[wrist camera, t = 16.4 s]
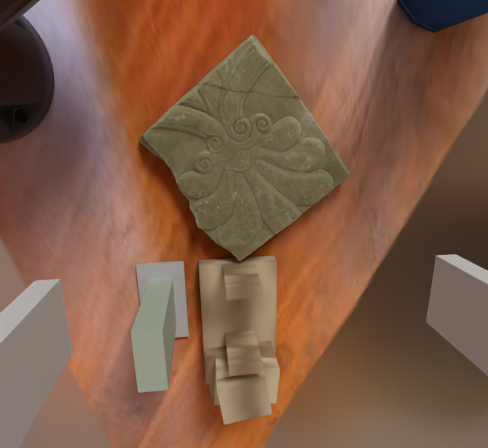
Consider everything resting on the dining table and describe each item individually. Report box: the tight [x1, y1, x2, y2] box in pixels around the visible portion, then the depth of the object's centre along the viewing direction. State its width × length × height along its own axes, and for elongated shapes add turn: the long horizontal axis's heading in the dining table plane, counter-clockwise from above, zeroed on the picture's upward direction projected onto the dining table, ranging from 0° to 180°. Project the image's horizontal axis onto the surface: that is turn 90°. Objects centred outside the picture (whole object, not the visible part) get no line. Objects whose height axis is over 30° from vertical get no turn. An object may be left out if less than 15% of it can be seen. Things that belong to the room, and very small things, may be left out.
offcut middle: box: [214, 358, 280, 405], centre depth 44 cm, size 8×5×2 cm, turn 86°
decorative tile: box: [139, 35, 350, 261], centre depth 41 cm, size 19×20×4 cm
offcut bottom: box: [206, 341, 275, 399], centre depth 47 cm, size 9×6×2 cm, turn 94°
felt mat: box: [136, 261, 189, 338], centre depth 46 cm, size 6×11×1 cm, turn 1°
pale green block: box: [131, 278, 177, 393], centre depth 40 cm, size 3×7×12 cm, turn 1°
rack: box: [199, 256, 277, 384], centre depth 44 cm, size 10×18×9 cm, turn 1°
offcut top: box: [216, 370, 272, 425], centre depth 42 cm, size 6×5×2 cm
